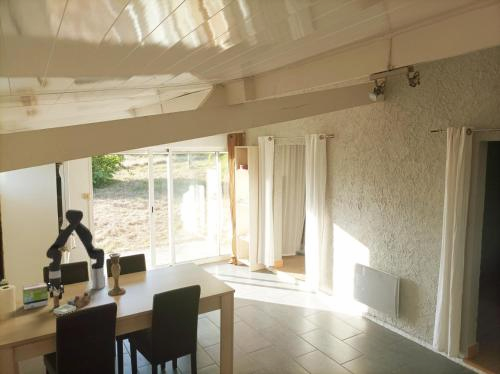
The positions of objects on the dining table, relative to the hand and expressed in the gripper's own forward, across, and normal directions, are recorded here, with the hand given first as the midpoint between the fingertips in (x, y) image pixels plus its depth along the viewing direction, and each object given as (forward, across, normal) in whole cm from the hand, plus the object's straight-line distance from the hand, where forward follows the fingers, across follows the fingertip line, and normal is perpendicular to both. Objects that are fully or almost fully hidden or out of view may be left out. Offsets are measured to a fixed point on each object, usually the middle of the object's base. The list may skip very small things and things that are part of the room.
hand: (56, 298), depth 262 cm
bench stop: (+7, -14, -10) cm, 19 cm away
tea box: (+7, +18, +3) cm, 20 cm away
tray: (+7, -12, +3) cm, 14 cm away
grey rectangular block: (+7, -9, -10) cm, 15 cm away
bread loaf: (+7, 0, 0) cm, 7 cm away
